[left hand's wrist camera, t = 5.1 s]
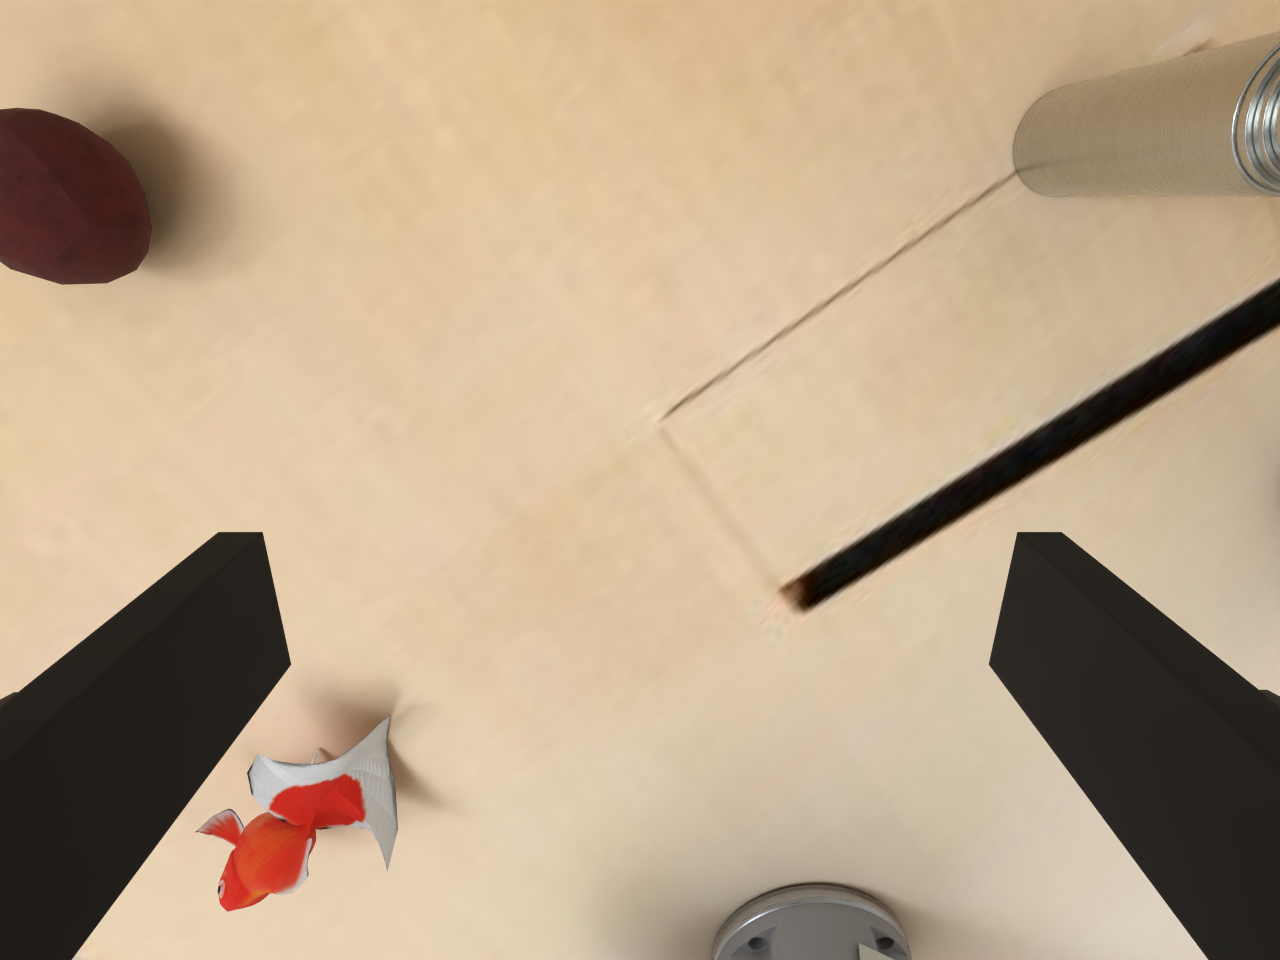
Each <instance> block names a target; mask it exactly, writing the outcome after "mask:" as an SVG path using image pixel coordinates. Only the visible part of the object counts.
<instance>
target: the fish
mask: <svg viewBox="0 0 1280 960" xmlns="http://www.w3.org/2000/svg"><path fill="white" fill-rule="evenodd" d="M389 720H390V715H389V716H388V717H387V718H386V719H384V720H383V721H382V722H380V723H379V724H378V725H377V726H376V727H375V728H374V729H373V730H372V731H371V732H370V733H369V734H368V735H367V736H366V737H365V738H364V739H363V740H362V741H361V742H359V743H358V744H357V745H355V746H354V747H353V748H351V749H350V750H349V751H347V752H346V753H344V754H343V755H341V756H340V757H339V758H337V759H336V760H332V761H327V762H323V763H318V764H314V762H315V757H316V753H317V751H315V753H314V756H313V758H312V761H311V763H310V764H292V763H286V762H280V761H273V760H270V759H268V758H266V757H264V756H262V755H260V754H258V755H257V757H256V759H255V760H254V762H253V764H252V765H251V767H250V769H249V771H248V772H247V774H248V779H249V784H250V788H251V793H252V795H253V796H254V798H255V799H256V800H257V802H258V803H259V804H260V805H261V806H262V807H264V808H265V809H266V810H267V811H268V812H266V813H263V814H261V815H259V816H258V817H256V818H255V819H253V820H252V821H251V822H250V823H249V824H248V825H247V826H246V827H245V829H244V826H243V824H242V822H241V820H240V819H239V817H238V816H237V814H236V813H235V812H234V811H233V810H232V809H227V810H224V811H222V812H221V813H219V814H217V815H215V816H213V817H212V818H211V819H209V820H208V821H207V822H206V823H205V824H204V825H203V826H202V827H201V828H200V829H198V830H197V831H198V832H201V833H204V834H207V835H214V836H216V837H219V838H222V839H224V840H226V841H228V842H229V843H231V844H233V845H235V846H236V848H235V849H234V850H233V851H232V852H231V854H230V856H229V859H228V862H227V864H226V867H225V869H224V871H223V874H222V876H221V879H220V882H219V885H218V895H219V900H220V904H221V906H222V907H223V908H224V909H225V910H226V911H232V910H236V909H241V908H245V907H249V906H252V905H254V904H256V903H258V902H260V901H261V900H263V899H264V898H265V897H266V896H267V895H269V894H270V893H274V894H276V895H285V894H289V893H292V892H295V891H296V890H297V889H298V888H299V887H300V886H301V885H302V884H303V882H304V881H305V880H306V878H307V877H308V869H307V863H308V857H309V855H310V853H311V851H312V849H313V847H314V845H315V842H316V830H315V829H319V830H321V829H328V828H335V827H342V826H350V827H356V828H365V829H368V830H369V831H370V832H371V833H372V834H373V835H374V837H375V838H376V840H377V842H378V843H379V846H380V848H381V851H382V853H383V856H384V860H385V863H386V868H387V870H388V866H389V862H390V858H391V854H392V850H393V846H394V842H395V838H396V834H397V830H398V823H397V807H396V792H395V784H394V779H393V774H392V768H391V763H390V758H389V752H388V747H387V741H386V740H387V734H388V728H389ZM197 831H196V832H197Z"/></svg>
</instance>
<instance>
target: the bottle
mask: <svg viewBox="0 0 1280 960" xmlns="http://www.w3.org/2000/svg"><path fill="white" fill-rule="evenodd" d="M1013 160H1014V165H1015V168H1016V171H1017V173H1018V175H1019V177H1020V179H1021V180H1022V182H1023V183H1024V184H1025V185H1026V186H1027V187H1028V188H1030V189H1031V190H1032V191H1034V192H1036V193H1038V194H1042V195H1046V196H1176V197H1280V32H1276V33H1272V34H1268V35H1264V36H1260V37H1256V38H1252V39H1249V40H1245V41H1241V42H1237V43H1233V44H1229V45H1225V46H1221V47H1217V48H1213V49H1209V50H1206V51H1202V52H1198V53H1194V54H1190V55H1186V56H1182V57H1178V58H1174V59H1170V60H1167V61H1163V62H1159V63H1155V64H1151V65H1147V66H1143V67H1139V68H1135V69H1131V70H1127V71H1124V72H1120V73H1116V74H1112V75H1108V76H1104V77H1100V78H1096V79H1092V80H1088V81H1084V82H1081V83H1077V84H1073V85H1069V86H1065V87H1061V88H1058V89H1056V90H1053V91H1051V92H1050V93H1048V94H1046V95H1045V96H1043V97H1042V98H1041V99H1039V100H1038V101H1037V102H1036V103H1035V104H1034V105H1033V106H1032V107H1031V108H1030V109H1029V110H1028V112H1027V113H1026V115H1025V116H1024V118H1023V119H1022V121H1021V123H1020V125H1019V127H1018V130H1017V133H1016V136H1015V140H1014V145H1013Z"/></svg>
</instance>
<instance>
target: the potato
mask: <svg viewBox="0 0 1280 960" xmlns="http://www.w3.org/2000/svg"><path fill="white" fill-rule="evenodd" d="M150 234H151V222H150V217H149V212H148V206H147V201H146V196H145V193H144V191H143V189H142V187H141V185H140V183H139V181H138V179H137V177H136V175H135V173H134V171H133V169H132V167H131V165H130V163H129V162H128V161H127V160H126V159H125V158H124V157H123V156H122V155H121V154H120V153H119V152H118V151H117V150H116V149H115V148H114V147H113V146H112V145H111V144H110V143H108V142H107V141H105V140H104V139H102V138H101V137H99V136H98V135H96V134H95V133H93V132H92V131H90V130H89V129H87V128H86V127H84V126H83V125H81V124H79V123H77V122H75V121H72V120H70V119H67V118H64V117H62V116H59V115H56V114H53V113H50V112H46V111H43V110H39V109H24V108H12V109H1V110H0V262H1V263H3V264H4V265H6V266H7V267H8V268H10V269H12V270H15V271H19V272H22V273H25V274H29V275H32V276H35V277H39V278H42V279H45V280H49V281H52V282H55V283H59V284H96V283H108V282H111V281H113V280H115V279H118V278H120V277H122V276H125V275H127V274H129V273H131V272H133V271H135V270H137V268H138V267H139V265H140V264H141V262H142V260H143V259H144V257H145V256H146V254H147V253H148V248H149V241H150Z"/></svg>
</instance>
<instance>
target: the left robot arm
mask: <svg viewBox="0 0 1280 960" xmlns="http://www.w3.org/2000/svg"><path fill="white" fill-rule="evenodd" d="M290 665H291V661H290V657H289V652H288V648H287V643H286V638H285V634H284V629H283V624H282V620H281V615H280V611H279V606H278V601H277V597H276V592H275V588H274V583H273V578H272V574H271V569H270V564H269V560H268V555H267V551H266V546H265V541H264V537H263V532H218V533H217V534H216V535H214V536H213V537H212V538H211V539H209V540H208V541H207V542H206V543H204V544H203V545H202V546H201V547H199V548H198V549H197V550H196V551H194V552H193V553H192V554H191V555H189V556H188V557H187V558H186V559H184V560H183V561H182V562H181V563H179V564H178V565H177V566H176V567H174V568H173V569H172V570H171V571H169V572H168V573H167V574H166V575H164V576H163V577H162V578H161V579H159V580H158V581H157V582H156V583H154V584H153V585H152V586H151V587H149V588H148V589H147V590H146V591H144V592H143V593H142V594H141V595H139V596H138V597H137V598H136V599H134V600H133V601H132V602H131V603H129V604H128V605H127V606H126V607H124V608H123V609H122V610H121V611H119V612H118V613H117V614H116V615H114V616H113V617H112V618H111V619H109V620H108V621H107V622H106V623H104V624H103V625H102V626H101V627H99V628H98V629H97V630H95V631H94V632H93V633H92V634H90V635H89V636H88V637H87V638H85V639H84V640H83V641H82V642H80V643H79V644H78V645H77V646H75V647H74V648H73V649H72V650H70V651H69V652H68V653H67V654H65V655H64V656H63V657H62V658H60V659H59V660H58V661H57V662H55V663H54V664H53V665H52V666H50V667H49V668H48V669H47V670H45V671H44V672H43V673H42V674H40V675H39V676H38V677H37V678H35V679H34V680H33V681H32V682H30V683H29V684H28V685H27V686H25V687H24V688H23V689H22V690H20V691H19V692H14V693H12V694H10V695H8V696H6V697H4V698H2V699H1V700H0V960H72V958H73V957H74V956H75V954H76V953H77V952H78V950H79V949H80V948H81V946H82V945H83V944H84V942H85V941H86V940H87V938H88V937H89V936H90V934H91V933H92V932H93V930H94V929H95V928H96V926H97V925H98V923H99V922H100V921H101V919H102V918H103V917H104V915H105V914H106V913H107V911H108V910H109V909H110V907H111V906H112V905H113V903H114V902H115V901H116V899H117V898H118V897H119V895H120V894H121V893H122V891H123V890H124V889H125V887H126V886H127V884H128V883H129V882H130V880H131V879H132V878H133V876H134V875H135V874H136V872H137V871H138V870H139V868H140V867H141V866H142V864H143V863H144V862H145V860H146V859H147V858H148V856H149V855H150V854H151V852H152V851H153V850H154V848H155V847H156V845H157V844H158V843H159V841H160V840H161V839H162V837H163V836H164V835H165V833H166V832H167V831H168V829H169V828H170V827H171V825H172V824H173V823H174V821H175V820H176V819H177V817H178V816H179V815H180V813H181V812H182V811H183V809H184V808H185V806H186V805H187V804H188V802H189V801H190V800H191V798H192V797H193V796H194V794H195V793H196V792H197V790H198V789H199V788H200V786H201V785H202V784H203V782H204V781H205V780H206V778H207V777H208V776H209V774H210V773H211V772H212V770H213V769H214V767H215V766H216V765H217V763H218V762H219V761H220V759H221V758H222V757H223V755H224V754H225V753H226V751H227V750H228V749H229V747H230V746H231V745H232V743H233V742H234V741H235V739H236V738H237V737H238V735H239V734H240V733H241V731H242V730H243V728H244V727H245V726H246V724H247V723H248V722H249V720H250V719H251V718H252V716H253V715H254V714H255V712H256V711H257V710H258V708H259V707H260V706H261V704H262V703H263V702H264V700H265V699H266V698H267V696H268V695H269V694H270V692H271V691H272V689H273V688H274V687H275V685H276V684H277V683H278V681H279V680H280V679H281V677H282V676H283V675H284V673H285V672H286V671H287V669H288V668H289V667H290ZM989 665H990V667H991V668H992V669H993V671H994V672H995V673H996V675H997V676H998V677H999V679H1000V680H1001V681H1002V683H1003V684H1004V685H1005V687H1006V688H1007V689H1008V691H1009V692H1010V694H1011V695H1012V696H1013V698H1014V699H1015V700H1016V702H1017V703H1018V704H1019V706H1020V707H1021V708H1022V710H1023V711H1024V712H1025V714H1026V715H1027V716H1028V718H1029V719H1030V720H1031V722H1032V723H1033V724H1034V726H1035V727H1036V728H1037V730H1038V731H1039V733H1040V734H1041V735H1042V737H1043V738H1044V739H1045V741H1046V742H1047V743H1048V745H1049V746H1050V747H1051V749H1052V750H1053V751H1054V753H1055V754H1056V755H1057V757H1058V758H1059V759H1060V761H1061V762H1062V763H1063V765H1064V766H1065V767H1066V769H1067V770H1068V772H1069V773H1070V774H1071V776H1072V777H1073V778H1074V780H1075V781H1076V782H1077V784H1078V785H1079V786H1080V788H1081V789H1082V790H1083V792H1084V793H1085V794H1086V796H1087V797H1088V798H1089V800H1090V801H1091V802H1092V804H1093V805H1094V806H1095V808H1096V809H1097V811H1098V812H1099V813H1100V815H1101V816H1102V817H1103V819H1104V820H1105V821H1106V823H1107V824H1108V825H1109V827H1110V828H1111V829H1112V831H1113V832H1114V833H1115V835H1116V836H1117V837H1118V839H1119V840H1120V841H1121V843H1122V844H1123V845H1124V847H1125V848H1126V850H1127V851H1128V852H1129V854H1130V855H1131V856H1132V858H1133V859H1134V860H1135V862H1136V863H1137V864H1138V866H1139V867H1140V868H1141V870H1142V871H1143V872H1144V874H1145V875H1146V876H1147V878H1148V879H1149V880H1150V882H1151V883H1152V884H1153V886H1154V887H1155V889H1156V890H1157V891H1158V893H1159V894H1160V895H1161V897H1162V898H1163V899H1164V901H1165V902H1166V903H1167V905H1168V906H1169V907H1170V909H1171V910H1172V911H1173V913H1174V914H1175V915H1176V917H1177V918H1178V919H1179V921H1180V922H1181V923H1182V925H1183V926H1184V928H1185V929H1186V930H1187V932H1188V933H1189V934H1190V936H1191V937H1192V938H1193V940H1194V941H1195V942H1196V944H1197V945H1198V946H1199V948H1200V949H1201V950H1202V952H1203V953H1204V954H1205V956H1206V957H1207V958H1208V960H1280V696H1278V695H1276V694H1274V693H1272V692H1270V691H1268V690H1258V689H1257V688H1256V687H1255V686H1253V685H1252V684H1251V683H1250V682H1248V681H1247V680H1246V679H1245V678H1243V677H1242V676H1241V675H1240V674H1238V673H1237V672H1236V671H1235V670H1233V669H1232V668H1231V667H1230V666H1228V665H1227V664H1226V663H1225V662H1223V661H1222V660H1221V659H1220V658H1218V657H1217V656H1216V655H1215V654H1213V653H1212V652H1211V651H1210V650H1208V649H1207V648H1206V647H1205V646H1203V645H1202V644H1201V643H1200V642H1198V641H1197V640H1196V639H1195V638H1193V637H1192V636H1191V635H1190V634H1188V633H1187V632H1186V631H1185V630H1183V629H1182V628H1181V627H1179V626H1178V625H1177V624H1176V623H1174V622H1173V621H1172V620H1171V619H1169V618H1168V617H1167V616H1166V615H1164V614H1163V613H1162V612H1161V611H1159V610H1158V609H1157V608H1156V607H1154V606H1153V605H1152V604H1151V603H1149V602H1148V601H1147V600H1146V599H1144V598H1143V597H1142V596H1141V595H1139V594H1138V593H1137V592H1136V591H1134V590H1133V589H1132V588H1131V587H1129V586H1128V585H1127V584H1126V583H1124V582H1123V581H1122V580H1121V579H1119V578H1118V577H1117V576H1116V575H1114V574H1113V573H1112V572H1111V571H1109V570H1108V569H1107V568H1106V567H1104V566H1103V565H1102V564H1101V563H1099V562H1098V561H1097V560H1096V559H1094V558H1093V557H1092V556H1091V555H1089V554H1088V553H1087V552H1086V551H1084V550H1083V549H1082V548H1081V547H1079V546H1078V545H1077V544H1076V543H1074V542H1073V541H1072V540H1071V539H1069V538H1068V537H1067V536H1066V535H1064V534H1063V533H1062V532H1017V537H1016V541H1015V546H1014V551H1013V555H1012V560H1011V564H1010V569H1009V574H1008V578H1007V583H1006V588H1005V592H1004V597H1003V601H1002V606H1001V611H1000V615H999V620H998V624H997V629H996V634H995V638H994V643H993V648H992V652H991V657H990V661H989ZM712 960H911V953H910V950H909V947H908V944H907V941H906V938H905V935H904V932H903V930H902V927H901V925H900V923H899V921H898V920H897V918H896V917H895V916H894V914H893V913H892V912H891V911H890V910H889V909H888V908H887V907H886V906H884V905H883V904H882V903H880V902H879V901H877V900H876V899H874V898H872V897H870V896H868V895H866V894H864V893H861V892H858V891H856V890H852V889H848V888H844V887H839V886H831V885H803V886H795V887H789V888H785V889H781V890H777V891H774V892H771V893H768V894H766V895H763V896H761V897H759V898H757V899H755V900H753V901H751V902H749V903H748V904H746V905H744V906H743V907H741V908H740V909H739V910H737V911H736V912H735V913H734V914H733V915H732V916H731V917H730V918H729V919H728V920H727V921H726V922H725V923H724V925H723V926H722V927H721V929H720V931H719V932H718V934H717V936H716V939H715V941H714V945H713V950H712Z"/></svg>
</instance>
